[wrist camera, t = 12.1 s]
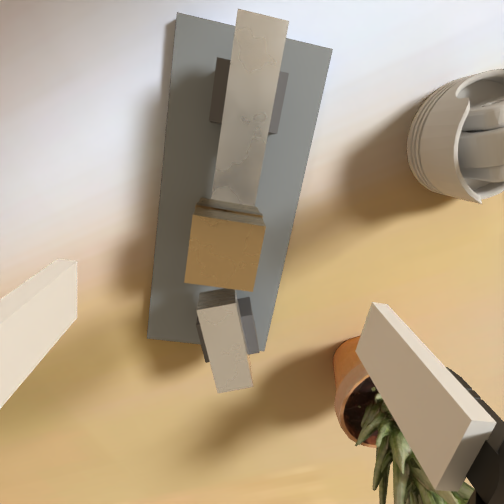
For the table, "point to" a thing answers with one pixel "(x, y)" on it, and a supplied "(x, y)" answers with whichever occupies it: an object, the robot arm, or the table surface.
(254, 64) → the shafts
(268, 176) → the shaft bench
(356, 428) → the potted plant
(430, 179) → the engine component
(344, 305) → the table surface
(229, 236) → the tan cardboard block
